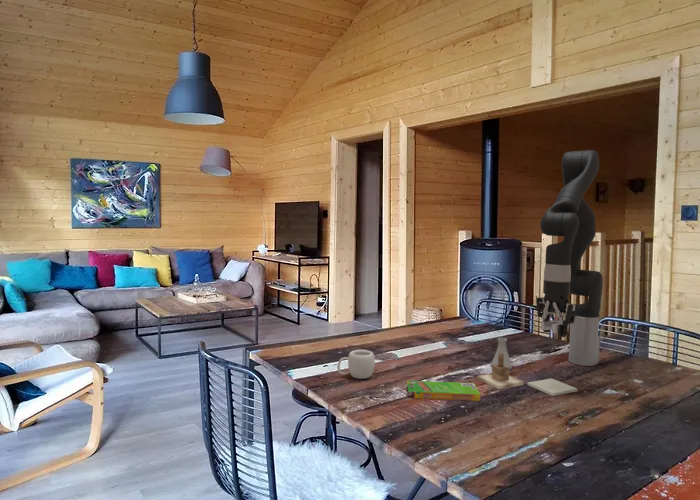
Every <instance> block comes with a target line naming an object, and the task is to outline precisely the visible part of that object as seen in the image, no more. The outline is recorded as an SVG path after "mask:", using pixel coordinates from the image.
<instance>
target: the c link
mask: <svg viewBox="0 0 700 500" xmlns="http://www.w3.org/2000/svg"><path fill="white" fill-rule="evenodd" d="M559 329H560V322H559V320H556V319H549V321H543V320H541V321H540V330H541V331H543V330H550V331H551V333H553V334H559ZM567 333H570V324H568V329H567Z"/></svg>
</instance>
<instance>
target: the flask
mask: <svg viewBox="0 0 700 500" xmlns="http://www.w3.org/2000/svg"><path fill="white" fill-rule="evenodd" d="M507 341H508V338H506V337H498V338H497V348H496V352H495V354H494V356H493V359H492V362H491V363H490V366H491V367H492V365H498V356H499V353H503V354H504V364H503V365H505V366H507V367H509V370H512V368H513V365H512V361H511V359H510V356H509V353H508V348H507Z"/></svg>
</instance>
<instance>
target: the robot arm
mask: <svg viewBox="0 0 700 500" xmlns="http://www.w3.org/2000/svg"><path fill="white" fill-rule="evenodd" d="M599 170H600V157H599V154H598V152H597V150H592V149H589V150H588V149H587V150H575V151H566V152H564V153H563V155H562V158H561V174H562V181H563V182H562V183H563V187H562V188H561V189H560V191H559V192H558V194H557V196H556V199H555V201H554V203H553V204H552V205H551V207H549V208H548V209H547V210H546V211H545V213H543V215H542V217H541V220H540V223H539V224H540V225H539V226H540V230H541V233H543V235H546V236H549V237H563V240H562V241H561V242H558V243H552V244H548V245H546V248H545V258H544V259H545V260H544V261H545V262H544V263H545V264H544V269H543V282H542V283H543V288H542V292H543V294H544V296H542V297H541V296H540V297H536V299H535V302H536V314H537V315H536V316H537V317H538V318H541V321H549V320H551V318H552V315H554V314H556V317H557V318H558V321H559V322H560V329H559V333H558V336H559V337H560V338H566V337H567V336H568V332H567V329H568V324H569V344H568V345H569V346H568V347H569V348H568V362H570V363H571V364H574V365H578V366H583V367H585V366H586V367H592V366H596V365H597V364H599V360H600V347H601V346H600V345H601V343H600V342H601V341H600V340H601V339H600V338H601V337H600V336H599V332H600V331H599V329H600V325H599V324H600V312H601V311H600V310H601V303H602V292H603V284H604V279H603V275H602V273H601V272H600V271H598V270H588V269H581V262H582V261H581V260H582V257H583V256H584V254H585V252H586V250H587V249H588V248H589V247H590V246H591V244H592V242H593V240H594V239H595V237H596V231H597V229H596V215H595V213H594V212H593V209H592V208H591V207H590V205H589V204H588V203H587V202H586V200H585V199H584V198H583V197H584V196H585V194H586V192H587V190H588V189H589V188H590V186H591V185H592V183H593V182H594V180H595V179H596V177H597V175H598V172H599ZM570 295H574V296H582V297H588V298H587V301H585V302H583V303H579V304H576V303H571V302H570V301H569V296H570ZM542 331H543V333H550V332H551V330H542Z"/></svg>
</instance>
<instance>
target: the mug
mask: <svg viewBox="0 0 700 500" xmlns="http://www.w3.org/2000/svg"><path fill="white" fill-rule="evenodd" d="M344 360H346V361H347V365H348V371H345V372H343V371H342V370H341V368H340V367H341V362H342V361H344ZM337 362H338V363H337V364H336V365H337V367H336V369H337V371H338V373H339V374H341V375H344V376H345V375H349V374H350V375H351V377H352V378H355V379H359V380H363V379H364V380H365V379H369V378H370V377H371V376H372V375H373V372H374V369H375V364H376V363H375V354H374V352H373V351H372V350H371V351H370V350H368V349H355V350H352V351H350V352H349V354H348V356H347V357H346V356H344V357H341V358H340V359H339V360H338V361H337Z"/></svg>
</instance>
